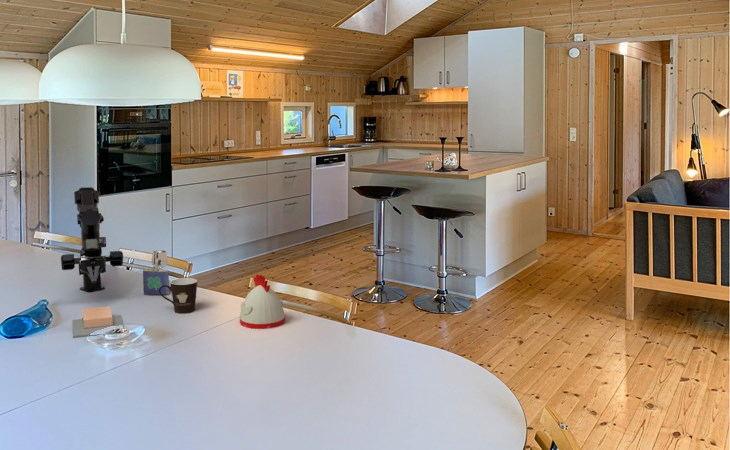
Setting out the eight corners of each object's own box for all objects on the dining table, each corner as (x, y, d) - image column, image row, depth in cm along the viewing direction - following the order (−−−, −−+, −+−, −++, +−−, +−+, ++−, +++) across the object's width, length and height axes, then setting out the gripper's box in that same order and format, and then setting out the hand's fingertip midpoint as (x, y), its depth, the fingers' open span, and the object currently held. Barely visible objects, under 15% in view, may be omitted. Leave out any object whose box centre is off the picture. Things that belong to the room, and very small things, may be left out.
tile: (82, 309, 200) (83, 320, 190) (109, 306, 204) (112, 317, 193) (82, 317, 201) (83, 328, 190) (110, 314, 204) (112, 325, 194)
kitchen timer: (269, 312, 211) (268, 268, 208) (293, 323, 201) (293, 276, 198) (231, 320, 202) (230, 274, 199) (254, 332, 192) (254, 283, 189)
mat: (72, 321, 198) (72, 319, 198) (120, 316, 204) (120, 314, 204) (73, 337, 184) (72, 336, 184) (124, 331, 190) (124, 330, 190)
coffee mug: (203, 308, 214) (202, 279, 212) (188, 316, 206) (187, 285, 204) (173, 304, 217) (172, 276, 216) (157, 311, 209) (156, 282, 208)
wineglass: (154, 284, 242) (152, 253, 240) (151, 281, 247) (150, 250, 245) (169, 283, 244) (168, 252, 242) (166, 279, 249) (165, 249, 247)
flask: (170, 293, 230) (169, 264, 229) (167, 296, 228) (166, 266, 226) (145, 293, 231) (143, 264, 229) (142, 295, 228) (140, 266, 226)
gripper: (59, 230, 205) (61, 272, 197) (121, 227, 213) (125, 267, 205) (60, 249, 213) (62, 289, 206) (120, 245, 221) (124, 284, 213)
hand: (94, 282), depth 207 cm, fingers closed
